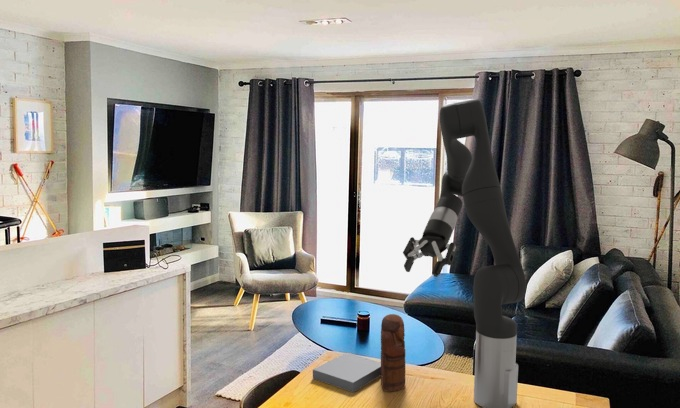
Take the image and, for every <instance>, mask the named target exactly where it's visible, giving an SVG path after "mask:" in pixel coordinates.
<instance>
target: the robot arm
mask: <svg viewBox="0 0 680 408" xmlns="http://www.w3.org/2000/svg"><path fill="white" fill-rule="evenodd" d="M439 125H440V133H441V136H442V137H441V138H442V142H443V146H444V151H445V155H446V169H447V170H446V171H445V172H444V173H443V175H442V177H441V185H440V186H441V188H440V189H441V191H440V194H439V199H438V201H437V204H435V205H436V206H435V207H434V210H433V212H432V213H431V215H430V217H429V219H428V221H427V224H426V226H425V228H424V230H423V232H422V236H421V238H420V239H415V238H414V237H410V238H409V240H408V242H407V244H406V246H405V247H404V250H403V251H402V254H403V255H404V257H405V259H406V260H405V262H404V264H403V267H404V270H405V271H406V272H407V273H410V272H411V270H412V268H413V265H414V263H415V261H416V260H417V259H421V258H422V257H423V256H424V257H431V258H435V257H437V260H438V261H436V263H434V264H435V265H434V267H433V269H432V272H431V274H432V275H433V277H435V278H436V277H438V276H440V275H441V273H442V270H443V267H444V266H452V265H453V261H454V259H455V255H456V253H457V249H458V248H457V246H456V244H455V243H454V242H450V243H449V241H450V240H451V236H452V235H453V233H454V230H455V228H456V225H457V221H458V218H459V215H460V213H461V211H462V209H463V203H464V208H465V213H466V216H467V218H468V219H469V221H470V222H471V224H473V226H474V228H475V229H476V230H477V231H478V232H479V233H480V235H481V236H482V237H483V239H484V240H485V241H486V243H487V245H488V247H489V248H490V251H491V253H492V256H493V259H494V260H493V261H494V265H493V264H492V265H491V264H490V265H486V266H481V267H480V268H478V269H477V270H476V272H475V275H474V278H473V288H472V289H473V290H472V291H473V293H472V294H473V317H474V320H475V327H476V329H475V350H474V351H475V353H474V354H475V356H474V357H475V358H474V380H473V381H474V382H473V384H474V385H473V401H474V403H475V404H477V405H478V406H480V407H481V408H513V407H514V406H515V405H516V404H518V403H517V402H518V382H519V381H518V379H519V364H518V363H517V362H516V358H517V357H516V356H517V338H518V337H517V336H518V324H517V322H516V321H515V320H514V319H513V318H511V317H509V316H506V315H503V307H502V305H508V304H514V303H519V302H521V301H522V300H524V298H525V296H526V293H527V279H526V275H525V270H524V268H523V266H522V262H521V260H520V257H519V253H518V251H517V248H516V244H515V241H514V239H513V235H512V231H511V228H510V227H511V226H510V224H509V219H508V215H507V210H506V206H505V202H504V196H503V193H502V188H501V184H500V180H499V177H498V172H497V168H496V166H495V162H494V161H495V160H494V157H493V152H492V146H491V141H490V136H489V129H488V124H487V118H486V112H485V108H484V105H483V103H482V101H481V100H480V99H479V98H469V99H464V100H459V101H455V102H453V101H452V102H450V103H449V102H448V103H446V104H444V105H442V106H441V107H440V109H439ZM473 136H474V137H475V148H474V153H473V154H472V152H471V151H470V149H469V148H468V147H467V146H466V145H465V144H464V143H463V142H461V141H460V140H458V139H463V138H469V137H473ZM460 197H462V198H463V199H461V198H460ZM419 251H420V252H419ZM444 251H447V252H446V255H445V257H444V256H443V255H442V253H443V252H444Z"/></svg>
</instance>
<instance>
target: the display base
mask: <svg viewBox="0 0 680 408" xmlns="http://www.w3.org/2000/svg"><path fill="white" fill-rule="evenodd" d="M379 377H381V361H378V360H375V359H371V358H367V357H364V356H361V355H357V354H353V353H350V352H345V353H343V354H341V355H339V356H337V357H335V358H332V359H331V360H329V361H327V362H324V363H323V364H321V365H319V366H317V367H314V368H313V369H312V379H313V380H316V381H318V382H322V383H324V384H328V385H331V386H334V387H335V388H339V389H342V390H345V391H348V392H351V393H354V392H357V391H358V390H360V389H361V388H364V387H365V386H366V385H368V384H369V383H371V382H373V381H375V380H376V379H378V378H379Z"/></svg>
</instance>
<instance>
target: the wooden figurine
mask: <svg viewBox="0 0 680 408" xmlns="http://www.w3.org/2000/svg"><path fill="white" fill-rule="evenodd" d="M403 319H404V318H402V316H400V315H398V314H395V313H389V314H387V315H385V316H383V318H382V320H381V326H380V329H381V330H380V350H381V351H380V362H381V376H380V377H381V386H382V390H383V391H385V392H387V393H391V392H396V391H397V392H398V391H399V390H400V391H401V390H402V389H404V388H405V386H406V342H405V336H406V334H405V330H406V329H405V323H404V320H403Z"/></svg>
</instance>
